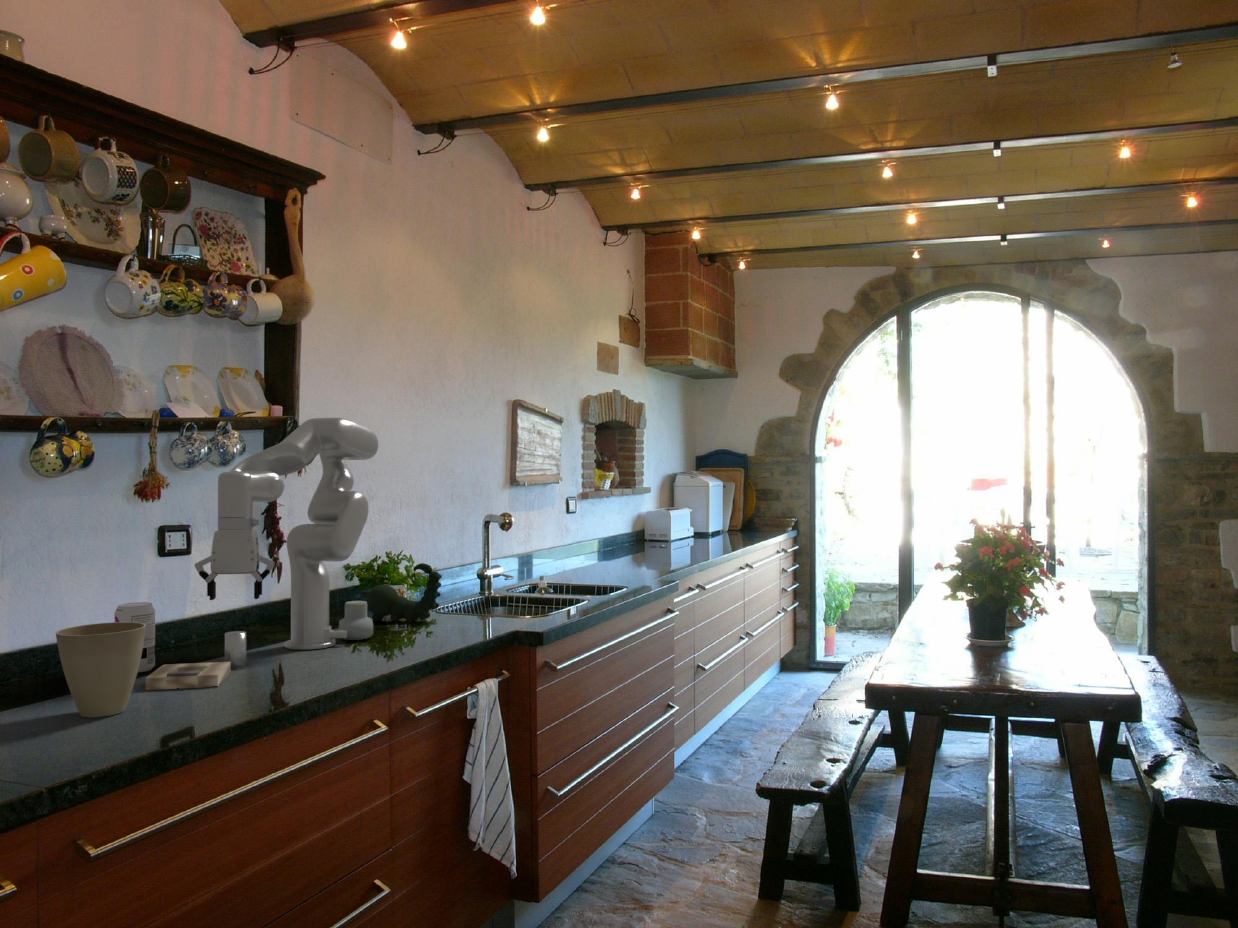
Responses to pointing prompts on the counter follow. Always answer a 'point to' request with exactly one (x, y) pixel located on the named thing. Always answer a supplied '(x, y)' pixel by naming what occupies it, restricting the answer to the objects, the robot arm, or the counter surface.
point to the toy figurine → (403, 600)
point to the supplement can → (145, 615)
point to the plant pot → (101, 664)
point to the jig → (188, 675)
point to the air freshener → (356, 621)
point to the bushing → (235, 649)
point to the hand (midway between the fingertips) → (234, 598)
